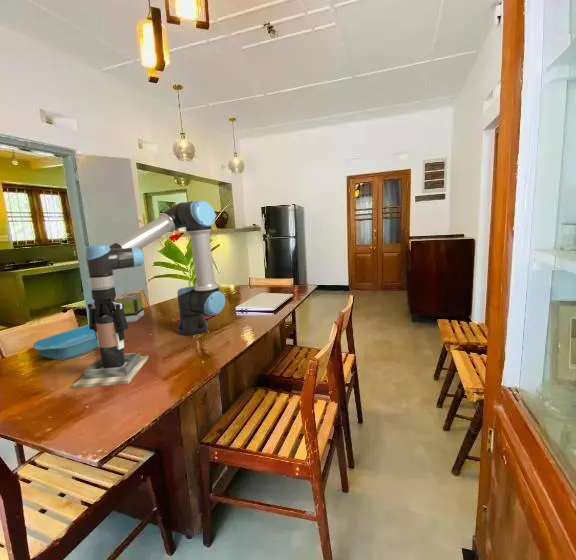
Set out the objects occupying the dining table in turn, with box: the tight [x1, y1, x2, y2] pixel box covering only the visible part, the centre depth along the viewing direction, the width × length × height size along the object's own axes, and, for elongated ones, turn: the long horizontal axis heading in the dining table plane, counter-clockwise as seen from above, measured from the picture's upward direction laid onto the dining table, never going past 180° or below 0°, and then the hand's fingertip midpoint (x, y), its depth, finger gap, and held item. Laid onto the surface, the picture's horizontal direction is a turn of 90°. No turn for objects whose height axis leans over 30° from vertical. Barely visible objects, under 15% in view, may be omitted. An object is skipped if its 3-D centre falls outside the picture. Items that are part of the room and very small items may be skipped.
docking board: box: [73, 352, 149, 389], centre depth 122 cm, size 18×22×4 cm
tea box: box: [115, 291, 145, 323], centre depth 195 cm, size 15×10×15 cm, turn 6°
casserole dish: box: [32, 324, 99, 361], centre depth 150 cm, size 37×22×7 cm, turn 157°
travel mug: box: [95, 312, 125, 368], centre depth 120 cm, size 8×8×20 cm
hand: (111, 347), depth 121 cm, fingers closed on travel mug, 8 cm apart
